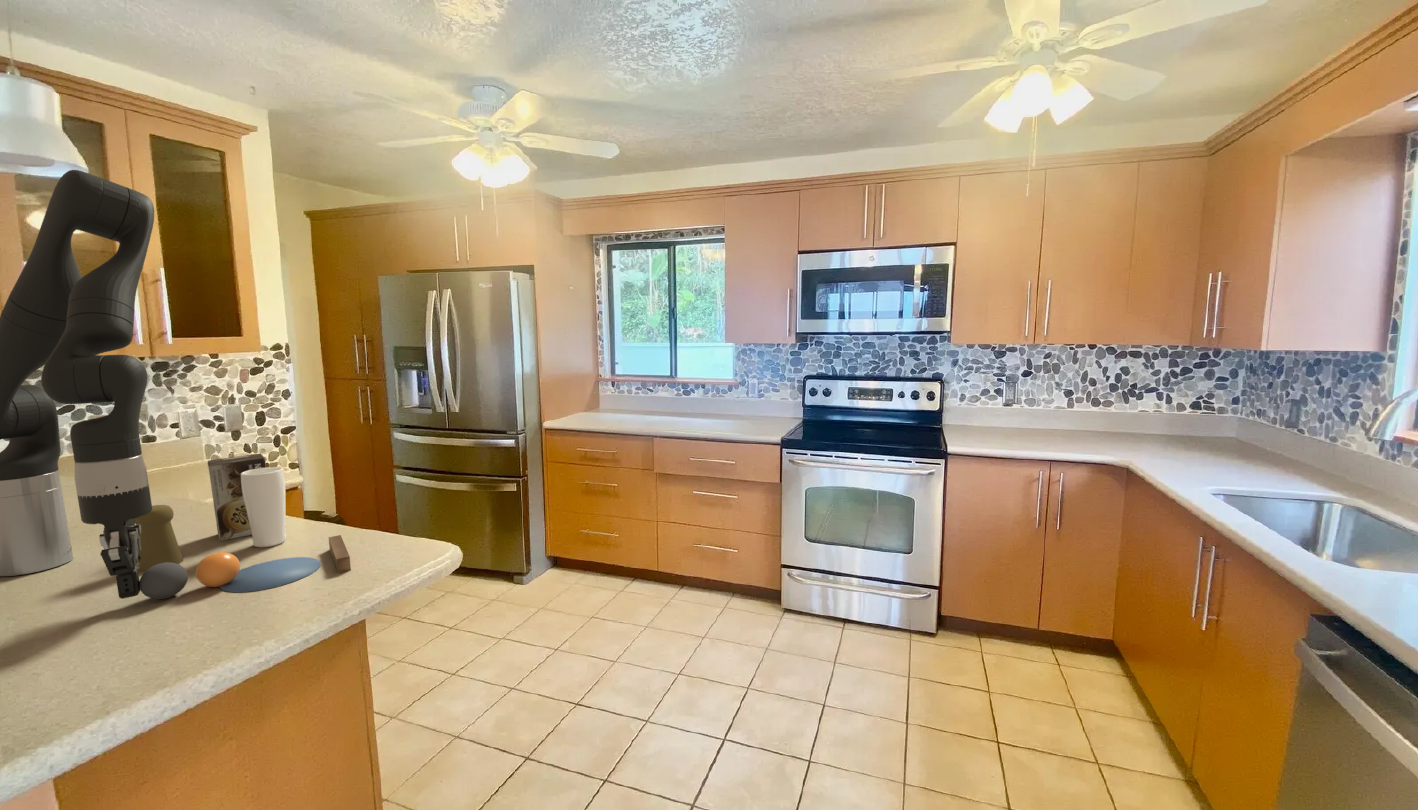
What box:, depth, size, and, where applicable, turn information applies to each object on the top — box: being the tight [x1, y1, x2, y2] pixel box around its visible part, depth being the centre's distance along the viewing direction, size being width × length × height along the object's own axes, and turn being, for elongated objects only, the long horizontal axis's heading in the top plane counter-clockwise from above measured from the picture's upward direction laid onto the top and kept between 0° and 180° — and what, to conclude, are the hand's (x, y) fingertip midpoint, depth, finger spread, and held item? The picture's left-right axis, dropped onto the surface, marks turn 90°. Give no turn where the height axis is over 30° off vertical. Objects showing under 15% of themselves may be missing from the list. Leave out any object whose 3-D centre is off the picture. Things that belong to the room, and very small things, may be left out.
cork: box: [134, 504, 184, 572], centre depth 103 cm, size 6×6×11 cm
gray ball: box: [139, 562, 189, 600], centre depth 90 cm, size 6×6×6 cm
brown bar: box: [328, 534, 352, 574], centre depth 105 cm, size 2×14×2 cm, turn 38°
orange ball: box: [195, 551, 241, 588], centre depth 94 cm, size 6×6×6 cm
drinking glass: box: [241, 466, 287, 548], centre depth 113 cm, size 7×7×15 cm
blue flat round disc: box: [219, 556, 321, 593], centre depth 99 cm, size 14×14×1 cm
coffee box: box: [207, 453, 267, 542], centre depth 120 cm, size 9×6×16 cm
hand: (130, 595), depth 88 cm, fingers closed
